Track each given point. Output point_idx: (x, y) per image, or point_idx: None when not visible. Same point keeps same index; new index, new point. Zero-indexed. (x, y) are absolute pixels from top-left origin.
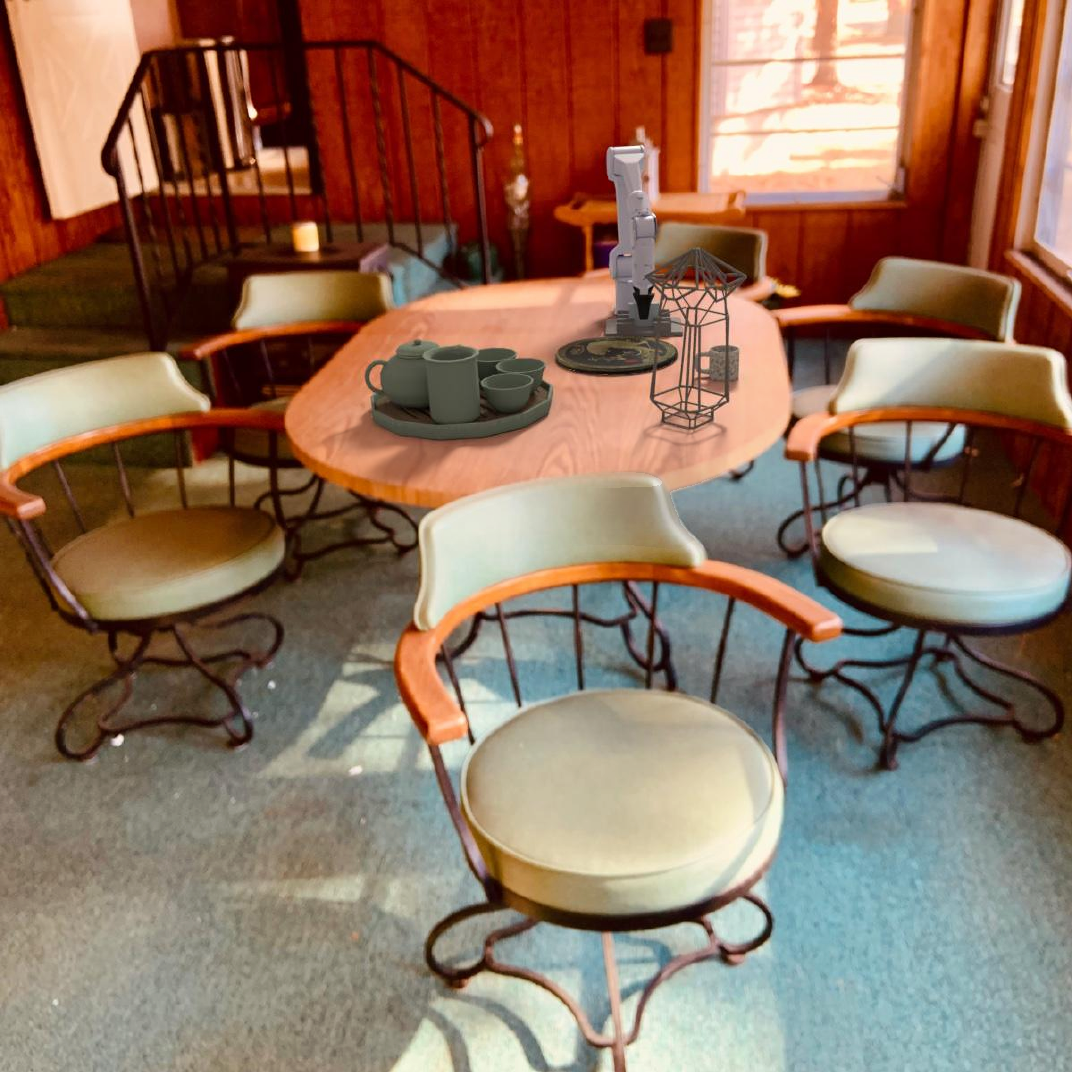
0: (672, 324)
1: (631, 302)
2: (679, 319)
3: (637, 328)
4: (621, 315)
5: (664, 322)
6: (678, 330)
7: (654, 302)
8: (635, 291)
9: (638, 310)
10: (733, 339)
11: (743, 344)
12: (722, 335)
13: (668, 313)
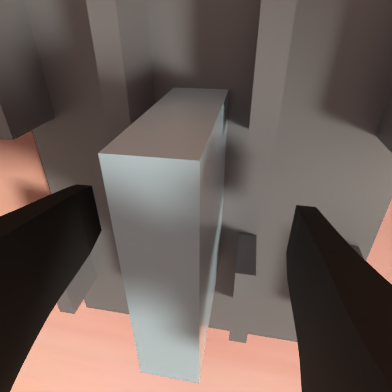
0: None
1: (194, 193)
2: (286, 336)
3: None
4: (260, 28)
5: None
6: (104, 299)
7: (172, 357)
8: (369, 362)
9: (9, 215)
10: (73, 377)
11: (34, 379)
12: (109, 371)
13: (232, 335)
